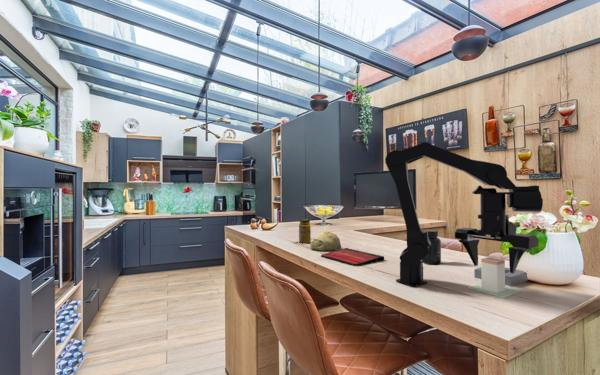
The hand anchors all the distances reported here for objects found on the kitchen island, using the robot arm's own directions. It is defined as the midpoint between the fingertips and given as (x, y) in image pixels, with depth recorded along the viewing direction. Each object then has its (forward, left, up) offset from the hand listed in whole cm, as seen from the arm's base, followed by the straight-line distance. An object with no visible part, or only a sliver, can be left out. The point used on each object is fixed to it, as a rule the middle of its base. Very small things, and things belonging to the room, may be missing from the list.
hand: (493, 269), depth 82 cm
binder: (-6, +51, -7) cm, 52 cm away
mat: (0, 0, -6) cm, 6 cm away
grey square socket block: (+12, +4, -6) cm, 14 cm away
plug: (0, 0, -5) cm, 5 cm away
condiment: (-3, +92, -6) cm, 92 cm away
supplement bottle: (+14, +29, -6) cm, 33 cm away
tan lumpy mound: (-3, +72, -6) cm, 72 cm away
